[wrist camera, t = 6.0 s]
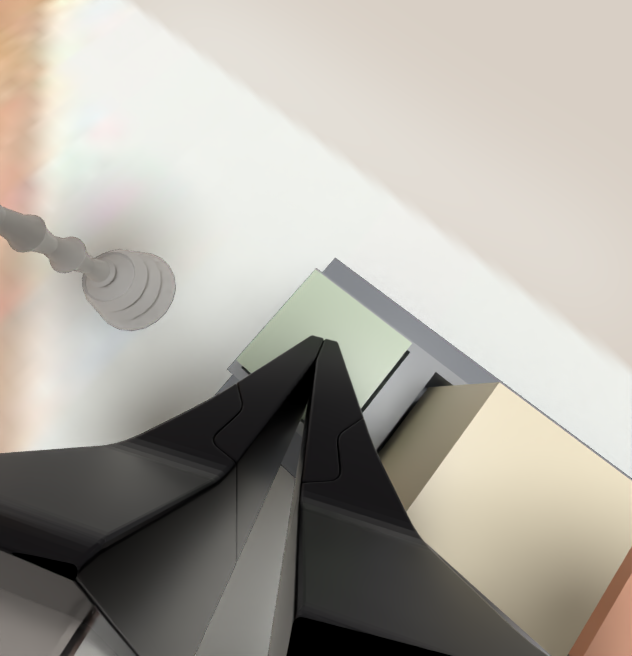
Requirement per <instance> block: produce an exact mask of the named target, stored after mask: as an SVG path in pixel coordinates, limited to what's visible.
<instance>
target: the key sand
mask: <svg viewBox="0 0 632 656" xmlns="http://www.w3.org/2000/svg"><path fill="white" fill-rule="evenodd" d="M378 455H379V457H380V460H381V462H382V464H383V466H384V468H385V470H386V472H387V474H388V476H389V478H390V480H391V482H392V484H393V486H394V488H395V490H396V492H397V494H398V496H399V498H400V500H401V502H402V504H403V506H404V508H405V510H406V512H407V514H408V516H409V518H410V520H411V522H412V524H413V526H414V527H415V529H416V530H417V532H418V534H419V535H420V536H421V538H422V539H423V541H424V542H425V543H427V544H428V545H429V546H430V547H431V548H432V549H433V550H434V551H435V552H437V553H438V554H439V555H440V556H441V557H442V558H443V559H444V560H445V561H447V562H448V563H449V564H450V565H451V566H452V567H453V568H454V569H455V570H457V571H458V572H459V573H460V574H461V575H462V576H463V577H464V578H465V579H467V580H468V581H469V582H470V583H471V584H472V585H473V586H474V587H475V588H477V589H478V590H479V591H480V592H481V593H482V594H483V595H484V596H485V597H487V598H488V599H489V600H490V601H491V602H492V603H493V604H494V605H495V606H497V607H498V608H499V609H500V610H501V611H502V612H503V613H504V614H505V615H507V616H508V617H509V618H510V619H511V620H512V621H513V622H514V623H515V624H517V625H518V626H519V627H520V628H521V629H522V630H523V631H524V632H525V633H527V634H528V635H529V636H530V637H531V638H532V639H533V640H534V641H535V642H537V643H538V644H539V645H540V646H541V647H542V648H543V649H544V650H545V651H547V652H548V653H549V654H550V655H551V656H567V655H568V653H569V652H570V650H571V648H572V647H573V645H574V643H575V642H576V640H577V638H578V636H579V635H580V633H581V631H582V630H583V628H584V626H585V625H586V623H587V621H588V619H589V618H590V616H591V614H592V613H593V611H594V609H595V608H596V606H597V604H598V603H599V601H600V599H601V597H602V596H603V594H604V592H605V591H606V589H607V587H608V586H609V584H610V582H611V580H612V579H613V577H614V575H615V574H616V572H617V570H618V569H619V567H620V565H621V564H622V562H623V560H624V558H625V557H626V555H627V553H628V552H629V550H630V548H631V547H632V480H630V479H629V478H628V477H626V476H625V475H624V474H622V473H621V472H620V471H618V470H617V469H615V468H614V467H613V466H611V465H610V464H609V463H607V462H606V461H605V460H603V459H602V458H601V457H599V456H598V455H597V454H595V453H594V452H593V451H591V450H590V449H589V448H587V447H586V446H585V445H583V444H582V443H581V442H579V441H578V440H577V439H575V438H574V437H573V436H571V435H570V434H569V433H567V432H566V431H565V430H563V429H562V428H561V427H559V426H558V425H556V424H555V423H554V422H552V421H551V420H550V419H548V418H547V417H546V416H544V415H543V414H542V413H540V412H539V411H538V410H536V409H535V408H534V407H532V406H531V405H530V404H528V403H527V402H526V401H524V400H523V399H522V398H520V397H519V396H518V395H516V394H515V393H514V392H512V391H511V390H510V389H508V388H507V387H506V386H504V385H503V384H502V383H500V382H495V383H481V384H467V385H453V386H439V387H428V389H427V390H426V391H425V393H424V394H423V395H422V397H421V398H420V399H419V401H418V402H417V403H416V405H415V406H414V407H413V408H412V410H411V411H410V412H409V414H408V415H407V416H406V418H405V419H404V420H403V422H402V423H401V424H400V426H399V427H398V428H397V430H396V431H395V432H394V434H393V435H392V436H391V437H390V439H389V440H388V441H387V443H386V444H385V445H384V447H383V448H382V449H381V451H380V452H379V453H378Z"/></svg>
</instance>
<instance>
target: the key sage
mask: <svg viewBox="0 0 632 656" xmlns="http://www.w3.org/2000/svg"><path fill="white" fill-rule="evenodd" d="M311 335H314V336H318V337H321V338H323V339H324V340H325V339H329V340H333V341H337V342H338V344H339V347H340V350H341V353H342V355H343V358H344V361H345V364H346V367H347V370H348V373H349V376H350V379H351V382H352V385H353V388H354V390H355V393H356V396H357V399H358V402H359V405H360V408H362V406H363V405H364V404H365V403H366V401H367V400H368V399H369V398H370V396H371V395H372V394H373V392H374V391H375V390H376V389H377V387H378V386H379V385H380V384H381V382H382V381H383V380H384V379H385V377H386V376H387V375H388V373H389V372H390V371H391V370H392V368H393V367H394V366H395V365H396V363H397V362H398V361H399V359H400V358H401V357H402V356H403V354H404V353H405V352H406V351H407V349H408V348H409V347H410V346H411V344H412V343H411V342H410V341H409V340H407V339H406V338H405V337H404V336H402V335H401V334H400V333H398V332H397V331H396V330H394V329H393V328H392V327H390V326H389V325H388V324H387V323H385V322H384V321H383V320H381V319H380V318H379V317H377V316H376V315H375V314H374V313H372V312H371V311H370V310H368V309H367V308H366V307H364V306H363V305H362V304H360V303H359V302H358V301H357V300H355V299H354V298H353V297H351V296H350V295H349V294H347V293H346V292H345V291H343V290H342V289H341V288H340V287H338V286H337V285H336V284H334V283H333V282H332V281H330V280H329V279H328V278H326V277H325V276H324V275H323V274H321V273H320V272H319V271H317V270H316V269H315V270H314V272H313V273H312V274H311V275H310V276H309V277H308V278H307V280H306V281H305V282H304V283H303V284H302V285H301V286H300V287H299V289H298V290H297V291H296V292H295V293H294V294H293V295H292V297H291V298H290V299H289V300H288V301H287V302H286V303H285V304H284V306H283V307H282V308H281V309H280V310H279V311H278V312H277V314H276V315H275V316H274V317H273V318H272V319H271V320H270V321H269V323H268V324H267V325H266V326H265V327H264V328H263V329H262V331H261V332H260V333H259V334H258V335H257V336H256V337H255V338H254V340H253V341H252V342H251V343H250V344H249V345H248V346H247V348H246V349H245V350H244V351H243V352H242V353H241V354H240V355H239V357H238V358H237V359H236V360H237V361H238V362H239V363H240V364H241V365H242V366H243V367H245V368H246V369H247V370H248V371H249V372H250V373H253V372H254V371H256V370H257V369H259V368H260V367H262V366H264V365H265V364H267V363H268V362H270V361H271V360H273V359H275V358H276V357H278V356H279V355H281V354H282V353H284V352H286V351H287V350H289V349H290V348H292V347H293V346H295V345H297V344H298V343H300V342H301V341H303V340H304V339H306V338H308V337H309V336H311ZM307 404H308V403H307ZM306 410H307V406H306V409H305V411H304V413H303V416H302V419H303V420H304V421H305V415H306Z"/></svg>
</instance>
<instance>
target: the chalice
mask: <svg viewBox="0 0 632 656" xmlns="http://www.w3.org/2000/svg"><path fill="white" fill-rule="evenodd" d="M0 235H1V236H2V237H4V238H5V239H6V240H7V241H8V243H9V245H10V246H11V247H12V249H14V250H15V251H17V252H30V251H33V252H38V253H43V254H44V255H45V256H46V257H48V258H49V261H50V264H51V266H52V268H53V269H54V270H55V271H57V272H59V273H69V272H72V271H77V272H81V273H84V274H83V277H82V286H83V291H84V294H85V296H86V299H87V300H88V302H89V303H90V304H91V305H92V306H93V307H94V308H95V309H96V311H97V312H98V313H99V314H100V316H101V317H102V318H103V319H104V320H105V321H106V322H107V323H108V324H109V325H111V326H113V327H115V328H117V329H121V330H129V331H133V330H138V329H143V328H145V327H147V326H149V325H151V324H153V323H155V322H156V321H157V320H159V319H160V318H161V317H162V316H163V315H164V314H165V313H166V311H167V310H168V308H169V306H170V304H171V303H172V301H173V297H174V292H175V279H174V275H173V273H172V271H171V269H170V266H169V265H168V264H167V263H166V262H165V261H164V260H163V259H162V258H160V257H157V256H155V255H153V254H150V253H140V252H135V251H129V250H121V249H118V250H113V251H108V252H106V253H103V254H101V255H99V256H98V257H96V258H92V257H91V256H90V255H89V254H88V253H87V252H86V248H85V245H84V243H83V242H82V241H81V240H80V239H78V238H76V237H67V238H60V237H56V236H54V235H53V234H52V233H51V232H50V231H49V230H48V229H47V228H46V225H45V222H44V221H43V220H42V219H41V218H40V217H38V216H36V215H23V214H21V213H18V212H15V211H13V210H10V209H7V208H5V207H2V206H1V205H0Z"/></svg>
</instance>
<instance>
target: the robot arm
mask: <svg viewBox="0 0 632 656" xmlns="http://www.w3.org/2000/svg"><path fill="white" fill-rule="evenodd" d="M307 403H308V404H307ZM306 406H307V410H306V415H305V421H304V428H303V434H302V440H301V447H300V453H299V460H298V466H297V472H296V479H295V485H294V491H293V498H292V504H291V510H290V517H289V523H288V530H287V536H286V542H285V549H284V555H283V561H282V568H281V574H280V580H279V587H278V593H277V600H276V606H275V612H274V619H273V625H272V631H271V638H270V644H269V651H268V656H548V655H547V654H545V653H544V652H542V651H541V650H540V649H538V648H537V647H536V646H534V645H533V644H532V643H530V642H529V641H528V640H527V639H526V638H525V637H524V636H522V635H521V634H520V633H519V632H518V631H517V630H515V629H514V628H513V627H512V626H511V625H510V624H509V623H508V622H507V621H506V620H505V619H504V618H503V617H502V616H501V615H500V614H499V613H497V612H496V611H495V610H494V609H493V608H492V607H491V606H490V605H489V604H488V603H487V602H486V601H485V600H484V599H483V598H482V597H481V596H480V595H478V594H477V593H476V592H475V591H474V590H473V589H472V588H471V587H470V586H469V585H468V584H467V583H466V582H465V581H464V580H463V579H462V578H461V577H459V576H458V575H457V574H456V573H455V572H454V571H453V570H452V569H451V568H450V567H449V566H448V565H447V564H446V563H445V562H444V561H443V560H441V559H440V558H439V557H438V556H437V555H436V554H435V553H434V552H433V551H432V550H431V549H430V548H429V547H428V545H427V544H426V543H425V542H424V541H423V539H422V538H421V536H420V535H419V534H418V532H417V530H416V529H415V527H414V526H413V524H412V522H411V520H410V518H409V516H408V514H407V512H406V510H405V508H404V506H403V504H402V502H401V500H400V498H399V496H398V494H397V492H396V490H395V488H394V486H393V484H392V482H391V480H390V478H389V476H388V474H387V472H386V470H385V468H384V466H383V464H382V462H381V460H380V457H379V455H378V453H377V451H376V449H375V446H374V444H373V441H372V439H371V436H370V434H369V431H368V428H367V425H366V422H365V420H364V417H363V414H362V411H361V408H360V405H359V402H358V399H357V396H356V393H355V390H354V388H353V385H352V382H351V379H350V376H349V373H348V370H347V367H346V364H345V361H344V358H343V355H342V353H341V350H340V347H339V344H338V342H337V341H333V340H329V339H325V340H324V339H323V338H321V337H318V336H314V335H311V336H309V337H308V338H306V339H304V340H303V341H301V342H300V343H298V344H297V345H295V346H293V347H292V348H290V349H289V350H287V351H286V352H284V353H282V354H281V355H279V356H278V357H276V358H275V359H273V360H271V361H270V362H268V363H267V364H265V365H264V366H262V367H260V368H259V369H257V370H256V371H254V372H253V373H251V374H249V375H248V376H246V377H245V378H243V379H242V380H240V381H238V382H237V384H234V385H232V386H230V387H229V388H227V389H226V390H224V391H222V392H221V393H219V394H217V395H216V396H214V397H212V398H211V399H209V400H207V401H205V402H203V403H201V404H199V405H198V406H196V407H194V408H192V409H190V410H188V411H186V412H184V413H182V414H180V415H178V416H176V417H174V418H172V419H170V420H168V421H166V422H164V423H162V424H160V425H158V426H156V427H154V428H152V429H150V430H148V431H146V432H144V433H142V434H140V435H137V436H135V437H133V438H130V439H128V440H125V441H122V442H118V443H115V444H109V445H102V446H91V447H77V448H64V449H51V450H37V451H24V452H11V453H0V656H195V654H196V652H197V650H198V647H199V645H200V643H201V641H202V638H203V636H204V634H205V632H206V630H207V627H208V625H209V623H210V621H211V618H212V616H213V614H214V612H215V610H216V607H217V605H218V603H219V601H220V598H221V596H222V594H223V592H224V590H225V587H226V585H227V583H228V581H229V578H230V576H231V574H232V572H233V570H234V567H235V565H236V561H237V560H238V558H239V556H240V554H241V552H242V549H243V547H244V545H245V543H246V540H247V538H248V536H249V534H250V531H251V529H252V527H253V525H254V523H255V520H256V518H257V516H258V514H259V511H260V509H261V507H262V505H263V503H264V500H265V498H266V496H267V494H268V491H269V489H270V487H271V485H272V483H273V480H274V478H275V476H276V474H277V471H278V469H279V467H280V465H281V462H282V460H283V458H284V456H285V454H286V451H287V449H288V447H289V445H290V442H291V440H292V438H293V436H294V434H295V431H296V429H297V427H298V425H299V422H300V420H301V418H302V416H303V413H304V411H305V409H306Z"/></svg>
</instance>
